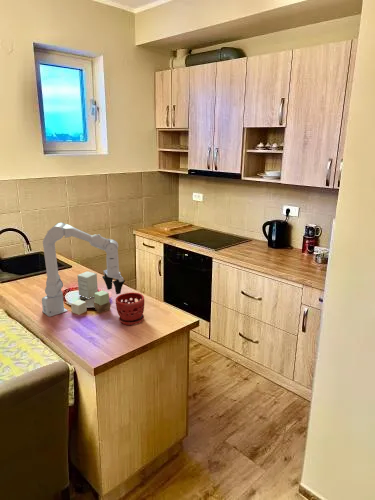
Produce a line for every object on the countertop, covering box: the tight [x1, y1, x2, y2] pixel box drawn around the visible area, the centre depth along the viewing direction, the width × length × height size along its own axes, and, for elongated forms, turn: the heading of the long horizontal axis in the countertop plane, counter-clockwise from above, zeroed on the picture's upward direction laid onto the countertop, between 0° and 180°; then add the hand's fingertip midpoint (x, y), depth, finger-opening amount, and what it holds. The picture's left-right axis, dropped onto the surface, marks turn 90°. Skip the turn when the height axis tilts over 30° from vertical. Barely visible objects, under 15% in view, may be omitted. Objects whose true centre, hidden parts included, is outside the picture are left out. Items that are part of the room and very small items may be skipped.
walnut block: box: [93, 300, 111, 314], centre depth 181 cm, size 6×6×4 cm
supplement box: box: [76, 271, 99, 298], centre depth 195 cm, size 7×7×13 cm
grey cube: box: [70, 299, 88, 316], centre depth 178 cm, size 5×5×5 cm
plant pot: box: [115, 292, 145, 326], centre depth 168 cm, size 13×13×12 cm
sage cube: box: [93, 290, 110, 305], centre depth 180 cm, size 5×5×5 cm
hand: (113, 291), depth 178 cm, fingers open, 7 cm apart
